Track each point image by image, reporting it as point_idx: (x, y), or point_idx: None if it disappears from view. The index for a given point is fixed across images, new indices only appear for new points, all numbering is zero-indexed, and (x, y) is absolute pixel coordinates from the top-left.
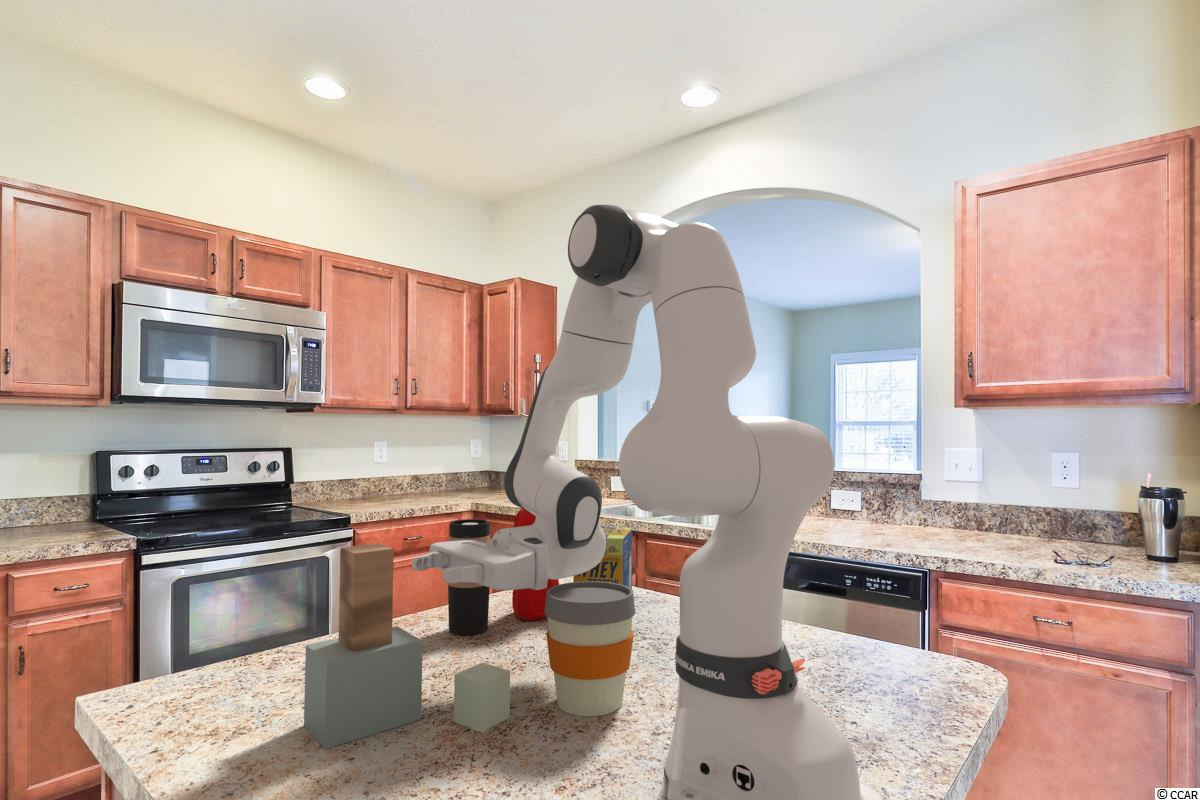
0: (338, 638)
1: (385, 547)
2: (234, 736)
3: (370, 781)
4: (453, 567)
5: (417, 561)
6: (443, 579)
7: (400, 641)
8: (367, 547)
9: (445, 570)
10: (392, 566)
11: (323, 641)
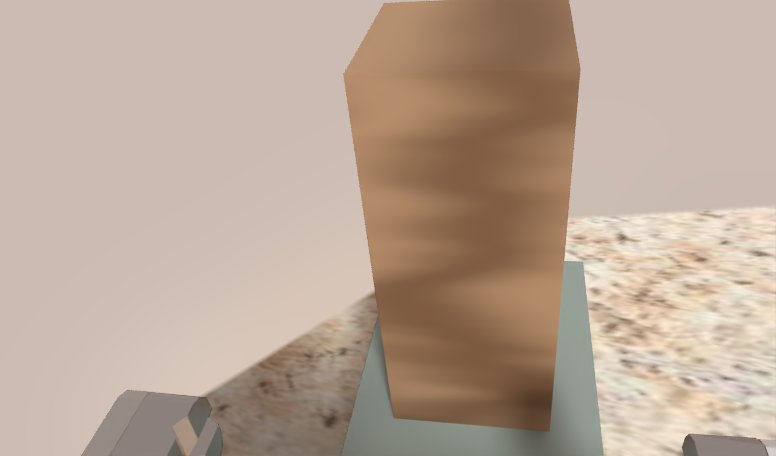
0: (584, 330)
1: (412, 64)
2: (603, 316)
3: (224, 409)
4: (147, 448)
5: (686, 443)
6: (217, 436)
7: (388, 448)
8: (486, 34)
9: (177, 395)
10: (356, 160)
11: (582, 295)
